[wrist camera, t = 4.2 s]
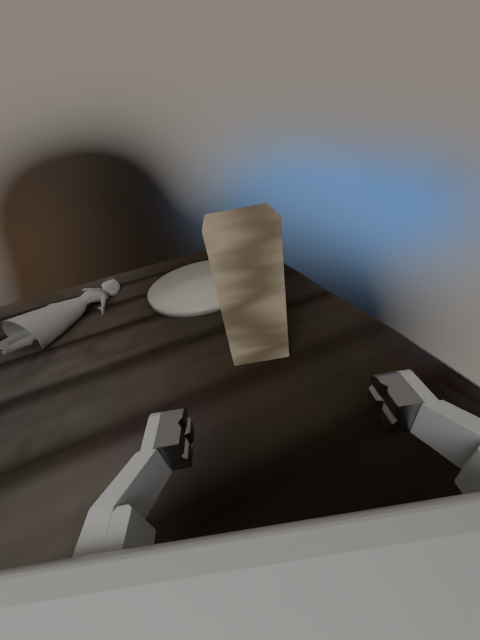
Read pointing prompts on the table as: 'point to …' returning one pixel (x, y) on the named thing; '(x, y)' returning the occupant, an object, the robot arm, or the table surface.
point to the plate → (185, 292)
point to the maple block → (249, 280)
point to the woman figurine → (52, 318)
